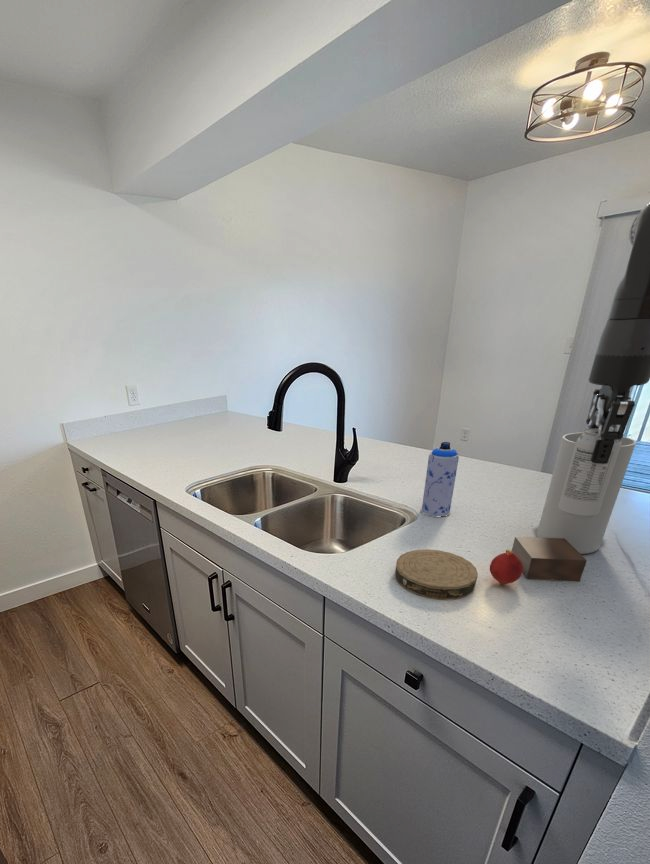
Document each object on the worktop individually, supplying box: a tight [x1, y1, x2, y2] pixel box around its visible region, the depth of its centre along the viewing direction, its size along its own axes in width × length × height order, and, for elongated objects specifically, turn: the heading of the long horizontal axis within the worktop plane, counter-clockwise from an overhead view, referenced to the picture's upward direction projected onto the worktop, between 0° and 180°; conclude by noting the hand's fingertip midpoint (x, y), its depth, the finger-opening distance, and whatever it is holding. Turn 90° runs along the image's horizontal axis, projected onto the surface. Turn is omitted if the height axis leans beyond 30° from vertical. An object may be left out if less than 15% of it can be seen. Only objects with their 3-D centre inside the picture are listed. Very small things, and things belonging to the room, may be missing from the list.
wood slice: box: [394, 548, 479, 601], centre depth 92 cm, size 16×16×3 cm
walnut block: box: [511, 536, 588, 582], centre depth 93 cm, size 10×10×5 cm
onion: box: [489, 549, 523, 586], centre depth 88 cm, size 6×6×8 cm
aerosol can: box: [420, 441, 460, 517], centre depth 120 cm, size 8×8×20 cm
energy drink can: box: [558, 428, 622, 519], centre depth 76 cm, size 6×6×15 cm
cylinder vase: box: [535, 432, 637, 555], centre depth 98 cm, size 12×12×25 cm
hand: (594, 457), depth 74 cm, fingers closed on energy drink can, 6 cm apart
